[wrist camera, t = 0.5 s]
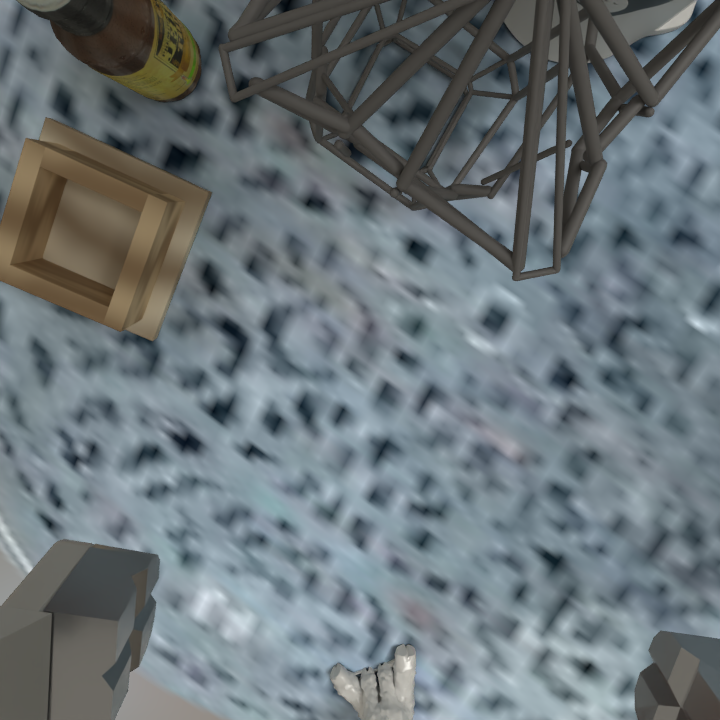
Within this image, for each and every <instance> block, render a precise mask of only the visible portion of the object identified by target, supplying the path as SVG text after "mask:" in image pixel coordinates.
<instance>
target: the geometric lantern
mask: <svg viewBox="0 0 720 720" xmlns="http://www.w3.org/2000/svg"><path fill="white" fill-rule="evenodd" d="M280 1H281V0H250V2H249V4H248V5H247V7H246V9H245V10H244V12H243V13H242V15H241V17H240V18H239V20H238V21H237V23H236V24H235V25H234V26H233V27H232V28H231V29H230V30H229V32H228V38H229V40H230V41H231V42H228V43H225V44H220V45H219V52H220V57H221V61H222V66H223V70H224V74H225V79H226V83H227V87H228V92H229V96H230V100H231V101H232V102H238V101H240V100H242V99H245V98H247V97H249V96H252V95H254V94H257V95H259V96H261V97H263V98H265V99H267V100H269V101H271V102H273V103H275V104H277V105H279V106H281V107H283V108H285V109H287V110H289V111H291V112H293V113H295V114H296V115H298V116H300V117H302V118H304V119H306V120H308V121H309V123H310V126H311V130H312V133H313V136H314V139H315V141H316V142H317V143H319V144H320V145H322V146H323V147H325V148H326V149H327V150H329V151H330V152H331V153H333V154H334V155H336V156H337V157H338V158H340V159H341V160H343V161H344V162H345V163H347V164H348V165H349V166H351V167H352V168H354V169H355V170H356V171H358V172H359V173H361V174H362V175H363V176H365V177H366V178H368V179H369V180H370V181H372V182H373V183H374V184H376V185H377V186H379V187H380V188H381V189H383V190H384V191H386V192H387V193H388V194H390V196H391V197H393V198H395V199H397V200H398V201H399V202H401V203H402V204H404V205H405V206H406V207H408V208H409V209H411V210H413V211H416V210H421V209H425V208H427V209H429V210H430V211H432V212H433V213H434V214H436V215H437V216H439V217H440V218H441V219H443V220H444V221H446V222H447V223H448V224H450V225H451V226H453V227H454V228H456V229H457V230H458V231H460V232H461V233H463V234H464V235H465V236H467V237H468V238H470V239H471V240H472V241H474V242H475V243H477V244H478V245H479V246H481V247H482V248H484V249H485V250H486V251H488V252H489V253H490V254H491V255H493V256H494V257H495V258H496V259H497V260H499V261H500V262H501V263H502V264H504V265H505V266H506V267H507V268H509V269H510V270H511V271H512V272H513V276H512V279H513V280H514V281H520V280H525V279H530V278H535V277H540V276H545V275H550V274H556V273H558V272H559V271H560V267H561V258H563V257H565V256H566V255H567V254H568V253H569V251H570V249H571V247H572V244H573V242H574V240H575V238H576V235H577V233H578V231H579V229H580V226H581V224H582V222H583V220H584V217H585V215H586V213H587V211H588V208H589V206H590V204H591V201H592V199H593V197H594V195H595V192H596V190H597V188H598V186H599V183H600V181H601V179H602V177H603V174H604V172H605V170H606V167H607V162H606V161H605V160H604V159H603V155H602V152H603V151H604V150H605V149H606V147H607V146H608V145H609V144H610V143H611V142H612V141H613V140H614V139H615V137H616V136H617V135H618V134H619V133H620V132H621V131H622V130H623V129H624V127H625V126H626V125H627V124H628V123H629V122H630V121H631V120H632V119H633V118H634V116H635V115H636V116H643V117H651V116H653V114H654V109H653V108H652V107H655V106H657V105H658V104H659V102H660V101H661V100H662V99H663V98H664V96H665V95H666V94H667V93H668V91H669V90H670V89H671V88H672V86H673V85H674V84H675V83H676V81H677V80H678V79H679V78H680V76H681V75H682V74H683V73H684V72H685V70H686V69H687V68H688V67H689V65H690V64H691V63H692V62H693V60H694V59H695V58H696V57H697V55H698V54H699V53H700V52H701V51H702V49H703V48H704V47H705V46H706V44H707V43H708V42H709V41H710V39H711V38H712V37H713V36H714V34H715V33H716V32H717V31H718V29H719V28H720V0H715V1H714V2H713V3H712V4H711V5H710V6H708V7H707V8H706V9H705V10H704V11H703V12H702V13H701V14H700V15H699V16H698V17H697V18H696V19H695V20H694V21H692V22H691V23H690V24H689V25H688V26H687V27H686V28H685V29H684V30H683V31H682V32H681V33H680V34H679V35H678V36H676V37H675V38H674V39H673V40H672V41H671V42H670V43H669V44H668V45H667V46H666V47H665V48H664V49H663V50H662V51H660V52H659V53H658V54H657V55H656V56H655V57H654V58H653V59H652V60H651V61H650V62H649V63H648V64H647V65H646V66H644V67H643V68H642V66H641V64H640V63H639V61H638V59H637V58H636V56H635V54H634V52H633V51H632V49H631V47H630V46H629V44H628V42H627V41H626V39H625V37H624V36H623V34H622V32H621V30H620V29H619V27H618V25H617V24H616V22H615V20H614V19H613V17H612V15H611V13H610V12H609V10H608V8H607V7H606V5H605V3H604V2H603V0H579V2H580V3H581V5H582V7H583V9H581V10H580V11H578V7H577V1H576V0H556V2H557V7H558V12H559V17H560V24H558V25H557V26H555V27H554V28H552V19H553V11H554V2H555V0H536V5H535V16H534V27H533V38H532V42H530V43H529V44H527V45H525V46H524V47H522V48H521V49H519V50H518V51H516V52H514V53H512V54H511V55H509V54H508V53H507V52H506V51H504V50H503V49H502V48H501V47H499V46H498V45H497V44H496V43H494V42H493V39H494V38H495V36H496V34H497V32H498V31H499V29H500V27H501V25H502V24H503V22H504V20H505V18H506V17H507V15H508V13H509V11H510V10H511V8H512V6H513V4H514V3H515V1H516V0H495V1H494V3H493V5H492V7H491V9H490V11H489V12H488V14H487V16H486V18H485V20H484V22H483V23H482V25H481V27H480V29H479V30H478V29H477V28H476V27H474V26H473V25H472V24H471V23H469V21H470V20H471V19H472V18H473V17H474V16H475V15H476V14H477V13H478V12H479V11H480V10H481V9H483V8H484V7H485V6H486V5H487V4H488V3H489V2H490V1H491V0H448V1H445V2H443V1H442V0H428V1H430V2H431V3H432V4H433V5H435V6H434V7H432V8H429V9H427V10H425V11H422V12H420V13H418V14H416V15H413V16H411V17H409V18H406V19H404V20H402V18H403V15H404V11H405V7H406V3H407V0H402V2H401V6H400V10H399V14H398V18H397V22H396V23H395V24H393V25H390V26H388V27H386V28H385V25H384V21H383V18H382V14H381V10H380V6H379V4H381V3H384V2H387V1H390V0H312V4H309V5H306V6H303V7H300V8H297V9H294V10H291V11H288V12H284V13H281V14H278V15H275V16H272V17H269V18H266V19H264V18H265V17H266V16H267V15H268V14H269V13H270V12H271V11H272V10H273V9H274V8H275V7H276V6H277V5H278V4H279V3H280ZM372 6H374V7H375V11H376V15H377V18H378V22H379V26H380V29H381V30H379V31H376V32H374V33H372V34H370V35H367V36H365V37H363V38H360V39H358V40H356V41H354V42H351V40H352V38H353V37H354V35H355V34H356V32H357V30H358V29H359V27H360V26H361V24H362V22H363V21H364V19H365V17H366V16H367V14H368V13H369V11H370V9H371V8H372ZM359 10H361V11H360V13H359V14H358V16H357V18H356V19H355V21H354V23H353V24H352V26H351V27H350V29H349V31H348V32H347V34H346V36H345V37H344V39H343V40H342V42H341V44H340V45H339V47H338V48H337V49H335V50H333V51H331V52H328V49H327V48H326V46H324V45H325V43H326V42H327V40H328V38H329V37H330V35H331V33H332V32H333V30H334V28H335V27H336V25H337V23H338V21H339V20H340V18H341V16H343V15H346V14H349V13H352V12H356V11H359ZM454 10H455V11H454ZM443 14H446V15H447V16H449V17H448V18H447V19H446V20H445V21H444V22H443V23H442V24H441V25H440V26H439V27H438V28H437V29H436V30H435V31H434V32H433V33H432V34H431V35H430V36H429V37H428V38H427V39H426V40H425V41H424V42H423V43H422V44H421V45H420V46H418V45H417V44H415V43H413V42H412V41H410V40H408V39H407V38H405V37H404V36H402V35H400V34H399V33H400V32H403V31H405V30H407V29H410V28H412V27H415V26H417V25H419V24H422V23H424V22H426V21H429V20H431V19H433V18H436V17H438V16H440V15H443ZM586 19H588V25H587V32H586V39H585V46H584V43H583V37H582V31H581V25H580V23H581V22H583V21H584V20H586ZM328 20H330V21H329V22H328V24H327V26H326V27H325V29H324V31H323V33H322V28H323V22H324V21H328ZM309 26H312V50H311V58H312V60H310V61H308V62H305V63H303V64H301V65H298V66H296V67H294V68H291V69H289V70H287V71H285V72H282V73H280V74H278V75H275V76H273V77H271V78H268V79H266V80H263V79H261V78H257V77H254V78H251V79H250V81H249V87H248V88H246V89H243V90H241V91H239V92H237V90H236V86H235V81H234V77H233V72H232V68H231V64H230V59H229V55H228V52H231V51H234V50H237V49H240V48H243V47H247V46H250V45H253V44H256V43H259V42H262V41H265V40H268V39H271V38H275V37H278V36H281V35H284V34H287V33H290V32H293V31H296V30H300V29H303V28H306V27H309ZM462 28H464V29H465V30H466V31H467V32H469V33H470V34H471V35H472V36H474V37H475V38H474V40H473V42H472V44H471V45H470V47H469V49H468V51H467V53H466V55H465V57H464V58H463V60H462V62H461V64H460V66H459V68H458V69H456V68H454V67H452V66H451V65H449V64H447V63H446V62H444V61H443V60H441V59H439V58H438V57H436V56H434V55H435V54H436V53H437V52H438V51H439V50H440V49H441V48H442V47H443V46H444V45H445V44H446V43H447V42H448V41H449V40H450V39H451V38H452V37H453V36H455V35H456V34H457V33H458V32H459V31H460V30H461V29H462ZM551 28H552V29H551ZM598 31H599V33H600V35H601V36H602V38H603V39H604V41H605V42H606V44H607V46H608V47H609V49H610V50H611V52H612V53H613V55H614V56H615V58H616V60H617V61H618V63H619V64H620V66H621V67H622V69H623V71H624V72H625V74H626V75H627V77H628V78H629V80H630V81H628V82H627V83H626V84H625V85H624V86H623V87H622V88H621V87H620V86H619V84H618V83H617V81H616V79H615V78H614V76H613V75H612V73H611V71H610V70H609V68H608V67H607V65H606V63H605V62H604V60H603V59H602V57H601V56H600V54H599V52H598V51H597V49H596V41H597V35H598ZM557 36H559V60H558V64H557V65H555V66H554V67H552V68H551V69H550V70H548V71H547V64H548V55H549V46H550V40H552V39H554V38H555V37H557ZM379 41H380V42H379ZM350 42H351V43H350ZM377 42H379V44H378V45H377V46H376V49H375V51H374V53H373V55H372V57H371V58H370V60H369V62H368V64H367V66H366V68H365V70H364V72H363V74H362V76H361V78H360V80H359V82H358V84H357V86H356V88H355V89H354V91H353V93H352V95H351V97H350V99H349V101H348V103H347V102H346V100H345V99H344V98H343V96H342V95H341V94H340V92H339V91H338V89H337V88H336V87H335V85H334V84H333V82H332V81H331V80H330V78H329V76H330V74H331V72H332V71H333V69H334V68H335V66H336V64H337V63H338V61H339V60H340V58H341V57H344V56H346V55H348V54H351V53H353V52H356V51H358V50H360V49H363V48H365V47H367V46H370V45H372V44H374V43H377ZM392 42H394V43H396V44H397V45H399V46H400V47H402V48H404V49H405V50H407V51H408V52H410V53H412V54H411V55H410V56H409V57H408V58H407V59H406V60H405V61H404V62H403V63H402V64H401V65H400V66H399V67H398V68H397V69H396V70H395V71H394V72H393V73H392V74H391V75H390V76H389V77H388V78H387V79H386V80H385V81H384V82H383V83H382V84H381V85H380V86H379V87H378V88H377V89H376V90H375V91H374V92H373V93H372V94H371V95H370V96H369V97H368V98H367V99H366V100H365V101H364V102H363V103H362V104H361V105H360V106H359V107H358V108H357V109H356V110H355V111H354V112H353V110H352V107H353V105H354V103H355V101H356V99H357V97H358V95H359V93H360V91H361V89H362V87H363V85H364V83H365V81H366V79H367V77H368V75H369V73H370V71H371V69H372V67H373V65H374V63H375V61H376V59H377V57H378V55H379V53H380V51H381V49H382V48H383V47H384V46H386V45H388V44H390V43H392ZM684 47H686V48H685V49H684V50H683V51H682V53H681V54H680V55H679V56H678V58H677V59H676V60H675V61H674V63H673V64H672V65H671V66H670V68H669V69H668V70H667V71H666V73H665V74H664V75H663V76H662V78H661V79H660V80H659V82H658V83H657V84H656V85H655V87H654V86H653V85H652V83H651V81H650V79H651V78H652V77H653V76H654V75H655V74H656V73H657V72H658V71H659V70H660V69H662V68H663V67H664V66H665V65H666V64H667V63H668V62H669V61H670V60H671V59H672V58H674V57H675V56H676V55H677V54H678V53H679V52H680V51H681V50H682V49H683V48H684ZM488 48H489V49H490V50H491V51H492V52H494V53H495V54H496V55H497V56H499V57H500V58H501V59H502V60H501V61H499V62H497V63H495V64H494V65H492V66H490V67H488V68H486V69H485V70H483V71H481V72H479V73H477V74H476V75H474V76H473V74H474V73H475V71H476V69H477V67H478V66H479V64H480V62H481V60H482V59H483V57H484V55H485V53H486V52H487V50H488ZM530 52H531V59H530V70H529V81H528V85H527V86H526V87H525V88H523V89H522V90H520V91H519V86H518V80H517V74H516V67H515V63H514V61H515V60H517V59H519V58H521V57H523V56H525V55H526V54H528V53H530ZM432 60H433V61H432ZM589 60H590V62H591V63H592V65H593V67H594V68H595V70H596V72H597V73H598V75H599V77H600V78H601V80H602V82H603V84H604V85H605V87H606V89H607V90H608V92H609V94H610V95H611V97H612V98H611V99H610V101H609V102H608V103H607V104H606V106H605V107H604V108H603V109H602V111H601V112H600V113H599V115H598V116H597V117H596V114H595V108H594V102H593V96H592V90H591V84H590V78H589V72H588V66H587V63H588V61H589ZM435 62H436V63H435ZM425 63H428V64H429V65H431V66H432V67H434V68H436V69H437V70H439V71H440V72H442V73H444V74H445V75H447V76H448V77H450V78H452V80H451V82H450V84H449V86H448V88H447V90H446V91H445V93H444V95H443V97H442V99H441V101H440V102H439V104H438V106H437V108H436V110H435V112H434V113H433V115H432V117H431V119H430V121H429V123H428V125H427V126H426V128H425V130H424V132H423V134H422V136H421V137H420V139H419V141H418V143H417V145H416V147H415V148H414V150H413V152H412V154H411V156H410V158H409V159H408V161H407V160H405V159H404V158H402V157H401V156H400V155H398V154H397V153H395V152H394V151H393V150H391V149H390V148H389V147H387V146H386V145H384V144H383V143H382V142H380V141H379V140H377V139H376V138H375V137H374V136H373V135H372V134H371V133H370V132H369V131H367V130H366V129H365V128H364V127H363V126H362V124H363V123H364V122H365V121H366V120H367V119H368V118H370V117H371V116H372V115H373V114H374V113H375V112H376V111H377V110H378V109H379V108H380V107H381V106H382V105H383V104H384V103H385V102H386V101H387V100H388V99H389V98H390V97H391V96H392V95H393V94H394V93H395V92H396V91H397V90H399V89H400V88H401V87H402V86H403V85H404V84H405V83H406V82H407V81H408V80H409V79H410V78H411V77H412V76H413V75H414V74H415V73H416V72H417V71H418V70H419V69H420V68H421V67H422V66H423V65H424V64H425ZM506 63H507V66H508V71H509V77H510V83H511V89H512V94H503V93H495V92H486V91H477V90H473V85H472V82H473V81H475V80H476V79H478V78H480V77H482V76H484V75H486V74H487V73H489V72H491V71H493V70H495V69H496V68H498V67H500V66H502V65H504V64H506ZM440 65H441V66H440ZM443 67H444V68H443ZM445 68H446V69H447V70H446V69H445ZM568 68H570V72H571V74H570V76H569V77H568ZM311 70H312V73H311V78H310V82H309V86H308V90H307V94H306V99H304V98H302V97H300V96H298V95H296V94H294V93H291V92H289V91H287V90H285V89H283V88H281V87H278V86H276V85H278V84H280V83H282V82H285V81H287V80H290V79H292V78H294V77H297V76H299V75H301V74H304V73H306V72H308V71H311ZM448 70H449V71H448ZM451 72H452V73H451ZM453 73H454V74H455V75H454V74H453ZM557 75H558V93H557V94H556V96H555V97H554V99H553V100H552V102H551V103H550V104H549V106H548V107H547V109H546V110H545V112H544V113H543V115H542V109H543V100H544V91H545V83H546V82H548V81H549V80H551V79H553V78H554V77H556V76H557ZM572 84H573V87H574V92H575V97H576V102H577V107H578V112H579V117H580V122H581V127H582V132H583V135H582V136H581V138H580V139H579V140H578V141H577V143H576V144H575V145H574V147H573V148H572V150H571V158H570V163H569V169H568V174H567V180H566V185H565V191H564V166H565V148H568V147H570V146H571V145H572V141H571V140H567V141H565V140H566V115H567V91H568V90H569V89H570V87H571V86H572ZM467 85H468V89H469V92H468V90H467V88H466V87H467ZM327 87H328V88H329V89H330V91H331V92H332V94H333V95H334V97H335V98H336V99H337V101H338V102H339V104H340V105H341V107H342V108H343V109H344V111H343V113H342V114H341V113H340V112H339V111H337V110H336V109H334V108H333V107H332V106H330V105H329V104H327V103H326V93H327ZM636 91H637V92H638V94H639V95H636V96H635V97H633V98H632V99H631V100H630V102H629V103H628V104H623V103H624V102H626V101H627V100H628V99H629V98H630V97H631V96H632V95H633V94H634V93H635V92H636ZM462 93H464V95H465V97H464V99H463V100H462V102H461V104H460V106H459V107H458V109H457V111H456V113H455V115H454V116H453V118H452V120H451V122H450V123H449V125H448V127H447V129H446V131H445V132H444V134H443V136H442V138H441V139H440V141H439V143H438V145H437V147H436V148H435V150H434V152H433V154H432V156H431V157H430V159H429V161H428V163H427V164H426V166H425V167H423V168H421V169H420V167H421V165H422V163H423V162H424V160H425V158H426V156H427V155H428V153H429V151H430V149H431V148H432V146H433V144H434V142H435V141H436V139H437V137H438V135H439V134H440V132H441V130H442V128H443V127H444V125H445V123H446V121H447V120H448V118H449V116H450V114H451V113H452V111H453V109H454V107H455V106H456V104H457V102H458V100H459V99H460V97H461V95H462ZM472 95H477V96H485V97H494V98H502V99H510V100H509V102H508V103H507V105H506V106H505V108H504V109H503V111H502V112H501V113H500V115H499V116H498V118H497V119H496V121H495V122H494V124H493V125H492V126H491V128H490V129H489V131H488V132H487V134H486V135H485V137H484V138H483V140H482V141H481V142H480V144H479V145H478V147H477V148H476V150H475V151H474V153H473V154H472V155H471V157H470V158H469V160H468V161H467V163H466V164H465V166H464V167H463V168H462V170H461V171H460V173H459V174H458V176H457V177H456V179H455V180H454V182H453V183H452V184H451V185H450V186H448V187H446V188H444V187H443V186H441V185H440V183H439V182H438V180H437V178H436V177H435V175H434V173H433V172H432V169H433V166H434V165H435V163H436V161H437V159H438V157H439V155H440V154H441V152H442V150H443V148H444V146H445V144H446V143H447V141H448V139H449V137H450V135H451V133H452V132H453V130H454V128H455V126H456V124H457V122H458V121H459V119H460V117H461V115H462V113H463V111H464V110H465V108H466V106H467V104H468V102H469V100H470V99H471V97H472ZM526 95H527V103H526V114H525V124H524V135H523V143H522V145H521V146H520V148H519V149H518V151H517V152H516V153H515V155H514V156H513V158H512V159H511V161H510V162H509V164H508V165H507V166H506V168H505V169H504V170H501V171H499V172H497V173H495V174H493V175H491V176H488V177H486V178H484V179H482V180H481V184H482V185H485V184H487V183H489V182H492V181H494V180H496V179H497V181H496V182H495V184H494V185H493V187H491V186H481V185H468V184H460V183H461V182H462V180H463V179H464V178H465V176H466V175H467V173H468V172H469V170H470V169H471V167H472V166H473V165H474V163H475V162H476V160H477V159H478V157H479V156H480V154H481V153H482V152H483V150H484V149H485V147H486V146H487V144H488V143H489V142H490V140H491V139H492V137H493V136H494V134H495V133H496V131H497V130H498V129H499V127H500V126H501V124H502V123H503V121H504V120H505V118H506V117H507V116H508V114H509V113H510V111H511V110H512V108H513V107H514V105H515V104H516V103H517V101H518V100H520V99H521V98H523V97H525V96H526ZM645 104H646V105H647V106H649V107H646V106H644V105H645ZM556 107H557V133H556V146H554V147H551V148H549V149H547V150H545V151H543V152H541V153H538V145H539V136H540V130H541V129H542V127H543V126H544V124H545V123H546V122H547V120H548V119H549V117H550V116H551V114H552V113H553V112H554V110H555V109H556ZM617 111H619V112H620V113H619V114H618V115H617V116H616V117H615V118H614V119H613V120H612V122H611V123H610V124H609V125H608V126H607V127H606V128H605V129H604V131H603V132H602V133H601V134H600V135H599V133H600V132H601V131H602V130H603V128H604V127H605V126H606V125H607V123H608V122H609V121H610V120H611V118H612V117H613V116H614V114H615V113H616V112H617ZM323 128H324V129H326V130H328V131H330V132H332V133H331V134H328V135H326V136H323ZM322 136H323V137H322ZM337 136H339V137H340V138H342V139H345V140H347V141H349V142H351V143H353V145H354V147H355V148H356V149H357V150H359V151H360V152H361V153H363V154H364V155H366V156H367V157H368V158H370V159H371V160H372V161H374V162H375V163H377V164H378V165H379V166H381V167H382V168H384V169H385V170H386V171H388V172H389V173H390V174H392V175H393V176H395V177H396V178H397V179H398V180H397V182H396V185H397V187H395V188H392V187H390V186H389V185H388V184H386V183H385V182H384V181H382V180H381V179H379V178H378V177H377V176H375V175H374V174H373V173H371V172H370V171H368V170H367V169H366V168H364V167H363V166H362V165H360V164H359V163H357V162H356V161H355V160H353V159H352V158H350V156H351V151H350V150H349V148H348V147H347V146H346V145H345V144H344V143H343V142H342V141H341V140H337V141H336V142H335V144H334V145H333V144H331V143H330V142H328V141H327V140H329V139H332V138H334V137H337ZM537 153H538V154H537ZM554 153H556V169H555V205H554V241H553V267H548V268H543V269H538V270H533V271H528V272H522V273H521V271H522V270H523V269H524V267H525V261H526V252H527V243H528V234H529V225H530V216H531V207H532V198H533V189H534V180H535V171H536V162H537V161H539V160H541V159H543V158H545V157H548V156H550V155H552V154H554ZM520 159H521V162H519V160H520ZM583 160H584V161H583ZM518 162H519V163H518ZM518 169H520V178H519V189H518V200H517V211H516V222H515V233H514V243H513V252H512V251H510V250H509V249H508V248H506V247H505V246H503V245H502V244H501V243H499V242H498V241H496V240H495V239H494V238H492V237H491V236H489V235H488V234H487V233H486V232H484V231H483V230H482V229H481V228H479V227H478V226H477V225H476V224H474V223H473V222H472V221H471V220H469V219H468V218H467V217H466V216H464V215H463V214H462V213H461V212H459V211H458V210H457V209H456V208H454V207H453V206H452V205H451V204H449V203H448V202H447V201H453V200H462V199H470V198H478V197H488V198H489V199H493V198H494V196H495V195H496V193H497V192H498V190H499V189H500V188H501V186H502V185H503V183H504V182H505V180H506V179H507V178H508V176H509V175H510V173H512V172H514V171H516V170H518ZM581 170H583V171H586V172H588V173H589V174H588V176H587V179H586V181H585V183H584V186H583V188H582V190H581V192H580V195H579V197H578V199H577V193H578V187H579V181H580V176H581ZM425 173H428V174H429V176H430V177H431V178H430V177H429V176H427V175H426V174H425ZM422 181H423V182H424V183H426V184H427V185H428V186H427V185H426V184H424V183H423V182H422ZM563 191H564V196H563ZM402 192H404V193H405V194H408V195H409V196H411V197H412V202H411V201H410V200H408V199H407V198H406V197H404V196H403V195H402ZM576 199H577V202H576ZM416 201H417V202H416Z"/></svg>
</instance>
